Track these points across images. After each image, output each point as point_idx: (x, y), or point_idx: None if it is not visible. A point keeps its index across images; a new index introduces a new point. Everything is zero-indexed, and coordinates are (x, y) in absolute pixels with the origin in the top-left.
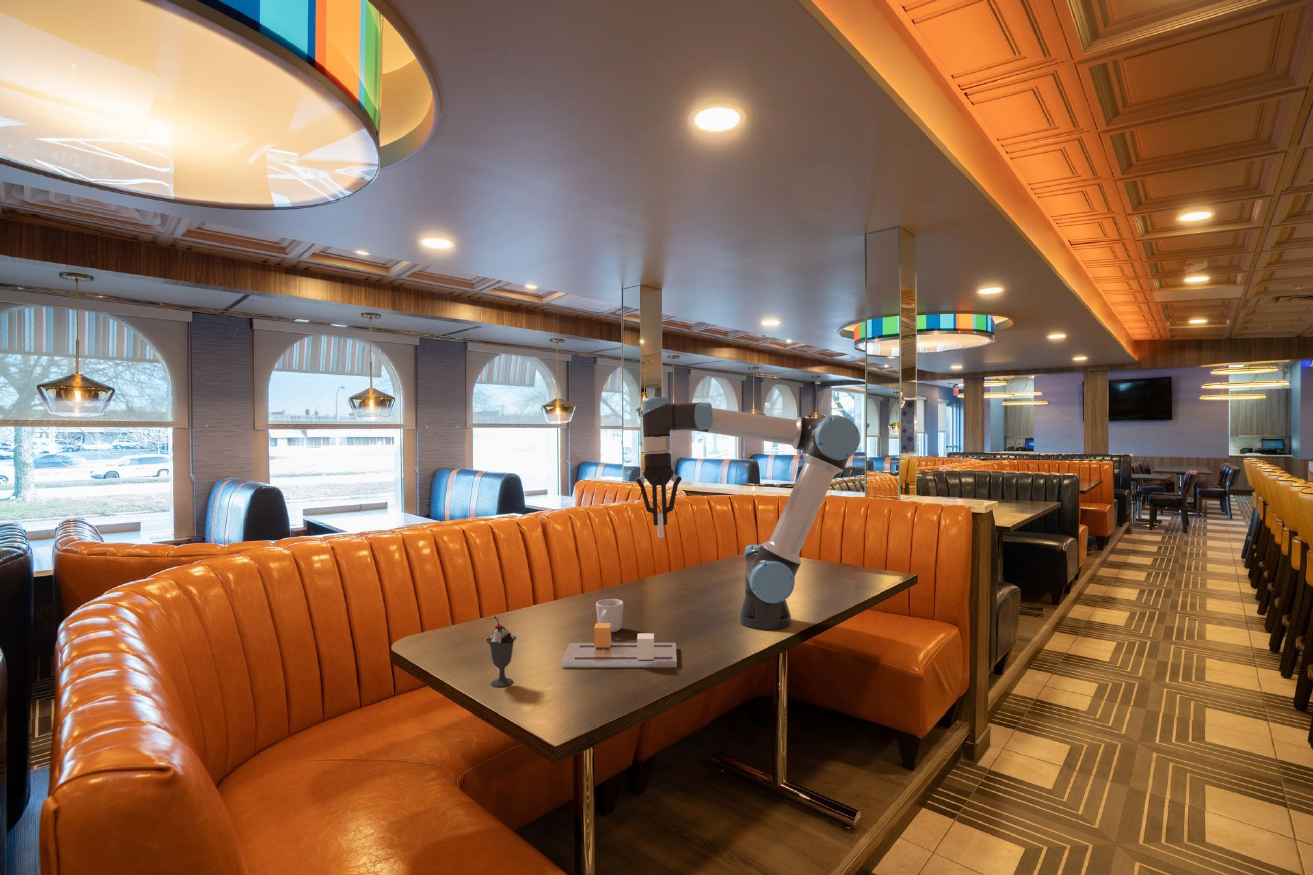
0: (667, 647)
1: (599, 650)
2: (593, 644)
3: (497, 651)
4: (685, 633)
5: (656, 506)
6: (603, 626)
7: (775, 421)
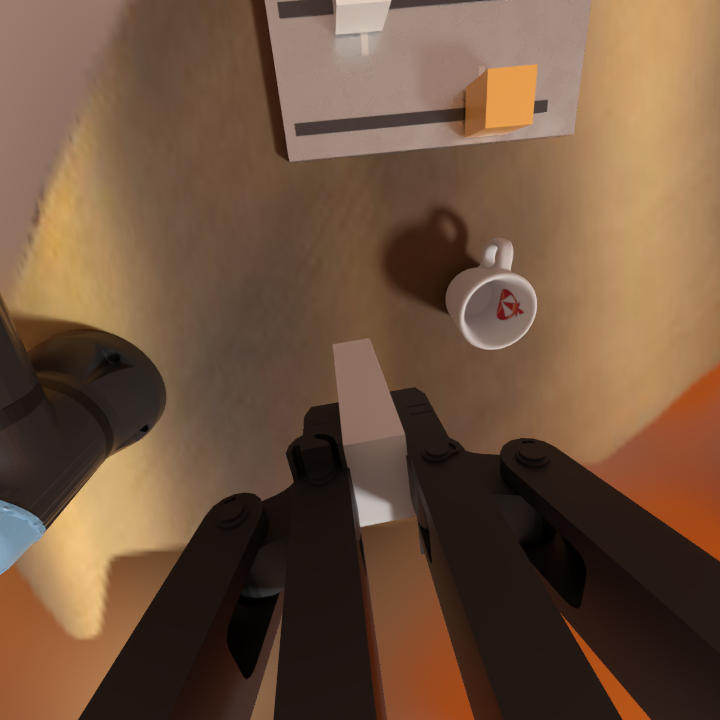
0: (306, 115)
1: None
2: None
3: None
4: (283, 285)
5: (442, 510)
6: (507, 85)
7: None
